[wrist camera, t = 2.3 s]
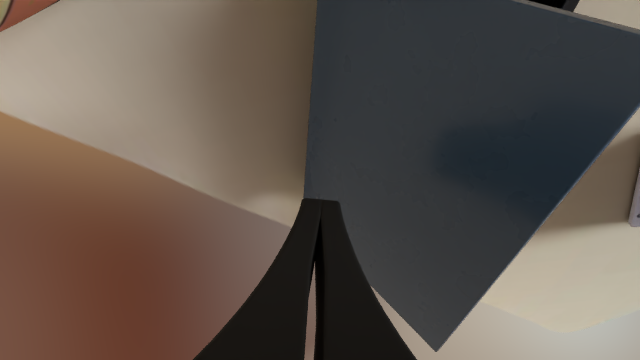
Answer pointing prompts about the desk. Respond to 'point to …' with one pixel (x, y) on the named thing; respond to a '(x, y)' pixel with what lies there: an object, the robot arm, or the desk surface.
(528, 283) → the desk surface
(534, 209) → the cover
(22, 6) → the coffee cup
